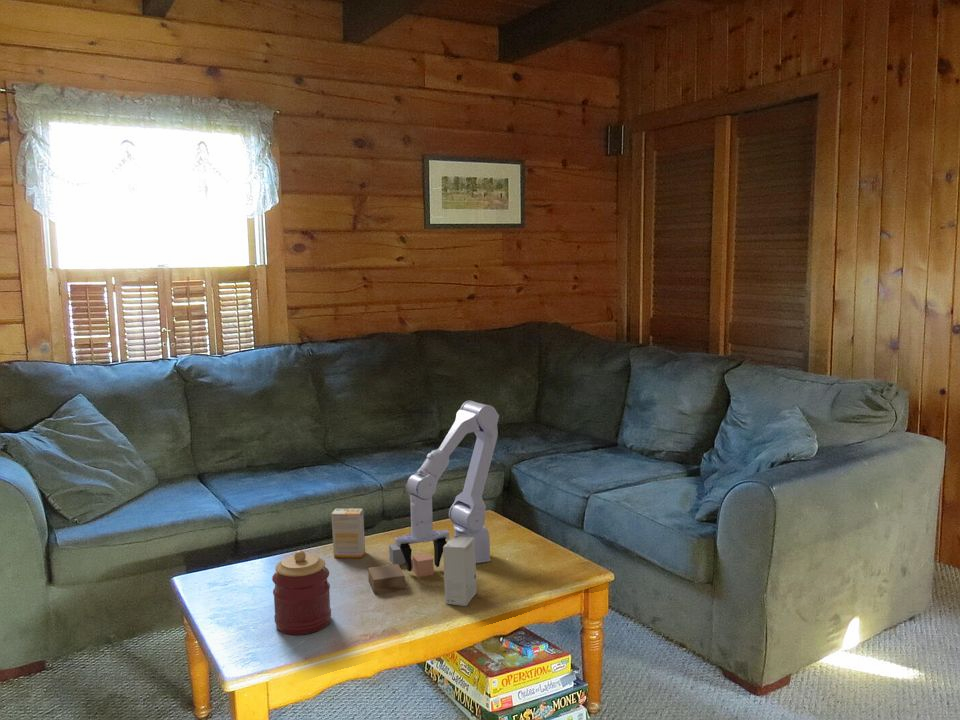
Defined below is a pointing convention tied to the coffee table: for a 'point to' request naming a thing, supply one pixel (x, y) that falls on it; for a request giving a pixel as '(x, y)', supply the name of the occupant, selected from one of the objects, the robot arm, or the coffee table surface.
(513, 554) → the coffee table surface
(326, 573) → the canister
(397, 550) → the slate grey cube
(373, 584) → the walnut block
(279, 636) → the coffee table surface
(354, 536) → the supplement box
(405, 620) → the coffee table surface
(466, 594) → the skincare box
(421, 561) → the terracotta cube
